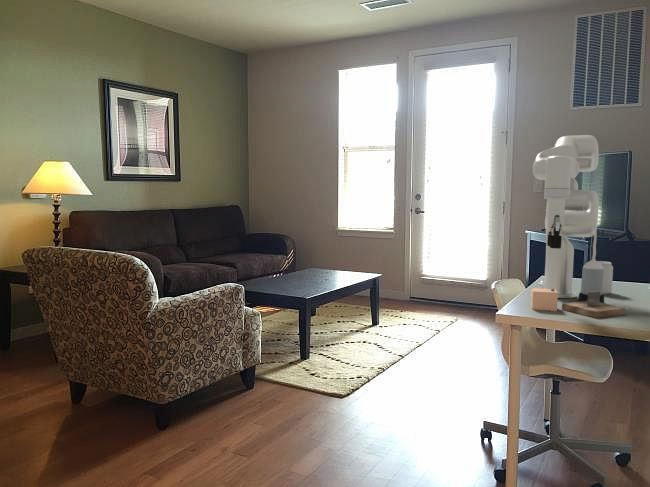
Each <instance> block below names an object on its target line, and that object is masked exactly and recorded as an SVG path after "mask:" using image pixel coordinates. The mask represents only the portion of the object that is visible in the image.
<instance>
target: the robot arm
mask: <svg viewBox="0 0 650 487" xmlns="http://www.w3.org/2000/svg"><path fill="white" fill-rule="evenodd" d="M596 138H597V137H595V136H594V135H591V134H582V135H581V134H580V135H579V134H578V135H565V136H561V137H560V138H558V139H557V140H556V142H555V144H554V146H553V147H550V148H549V149H545V150H543V151H541V152H539V153H537V155H536V157H535V159H534V162H533V164H532V173H533V176H534V178H535V179H537V180H540V181H541V180H542V181H544V191H543V193H544V195H543V196H544V197H543V199H544V200H547V201H546V207H545V216H544V217H545V218H544V228H545V238H546V239H545V241H546V243H545V245H546V246H545V262H544V265H545V266H544V280H543V281H542V280H540V282H537V286H538V287H541V289H555V290H556V291H557V292H558V298H557V299H573V298H576V297H577V293H576V292H574V291H573V278H574V277H573V275H574V273H573V272H574V255H575V249H574V245H573V244H572V243H571V242H570V240H569V239H568V237H570V238H571V237H574V238H577V237H578V238H590V237H591V238H592V237H594V232H595V231H597V230H598V223H599V206H600V204H599V203H600V201H599V195H598V193H597V192H596V191H594V190H591V189H579V184H578V181H577V180H576V179H575V178H576V177H577V176H578V175H579V173H582V172H584V173H585V172H587V173H589V172H593V171H596V169H597V168H598V166H599V162H600V161H599V159H600V158H599V157H600V156H599V153H600V152H599V150H600V149H599V143H598V140H597V139H596Z"/></svg>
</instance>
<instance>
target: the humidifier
mask: <svg viewBox="0 0 650 487" xmlns="http://www.w3.org/2000/svg"><path fill="white" fill-rule="evenodd" d="M597 235H598V231H597V230H596V231H595V232H594V235H593V237H591V241H590V242H591V243H590V247H589V249H590V251H592V252H590V255H589V256H590V257H589V261H588V262H585V263H584V264H583V266H582V271H581V285H580V286H581V288H580V292H579V293H578V298H577V299H578V300H577V302H581V301H588V292H591V291H600V303H604V304H605V294H602V291H603V275H604V268H603V266H602V265H601V264H600V263H599V262H597V261H598V260H596V255H597V247H596V246H597ZM592 240H593V241H592ZM591 247H592V249H591Z"/></svg>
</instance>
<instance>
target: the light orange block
mask: <svg viewBox="0 0 650 487" xmlns="http://www.w3.org/2000/svg"><path fill="white" fill-rule="evenodd" d="M558 299H559V298H558V292H557V291H556V290H555V289H542V288H534V287H533V288H531V294H530V307H531V310H535V311H549V310H550V312H557V311H558Z"/></svg>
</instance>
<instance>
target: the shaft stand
mask: <svg viewBox="0 0 650 487" xmlns="http://www.w3.org/2000/svg"><path fill="white" fill-rule="evenodd" d="M561 304H562V305H561V309H562V310H563V311H567V312H571V313H575V314H578V315H581V316H582V315H583V316H587V317H590V318H595V319H600V318H607V317H609V318H610V317H615V316H616V317H617V316H623V315H624V316H625V315H626V307H621V306H617V305H614V304H613V305H612V304H608V303H605V302H604V303H600V291H591V292H588V301H581V302H578V301H572V302H571V301H570V302H565V303H563V302H562V303H561Z"/></svg>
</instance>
